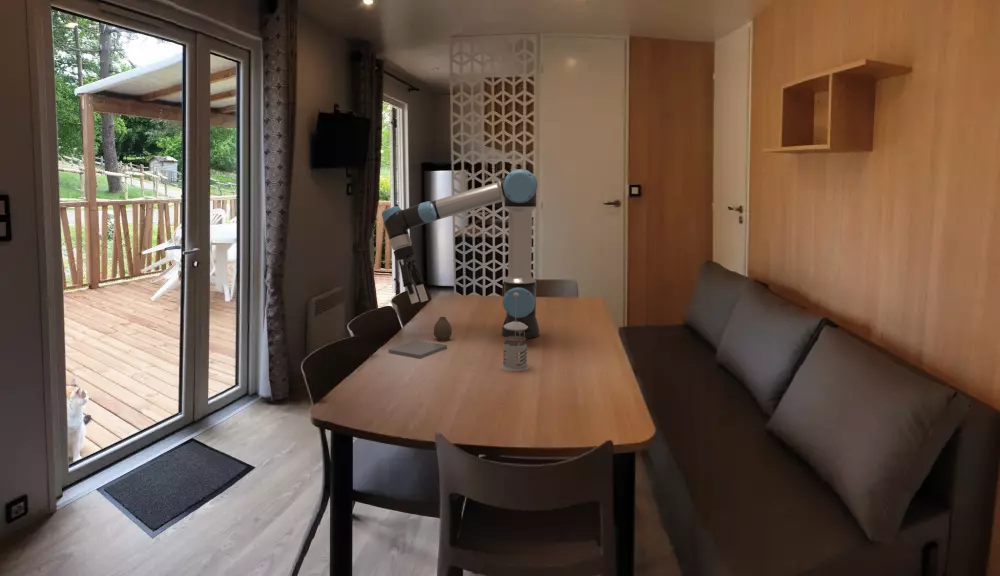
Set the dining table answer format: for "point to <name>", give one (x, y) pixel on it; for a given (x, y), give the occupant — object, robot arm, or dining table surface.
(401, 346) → the slate tile
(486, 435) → the dining table surface
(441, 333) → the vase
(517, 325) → the french press
